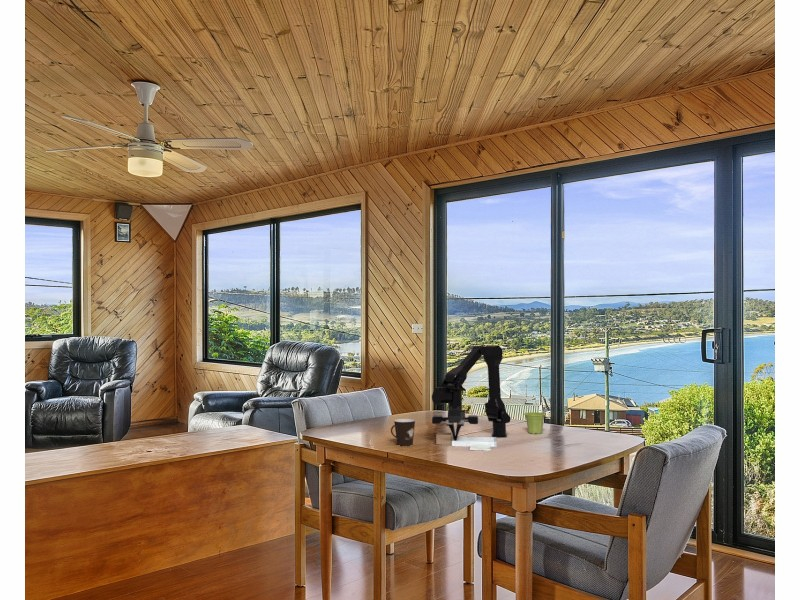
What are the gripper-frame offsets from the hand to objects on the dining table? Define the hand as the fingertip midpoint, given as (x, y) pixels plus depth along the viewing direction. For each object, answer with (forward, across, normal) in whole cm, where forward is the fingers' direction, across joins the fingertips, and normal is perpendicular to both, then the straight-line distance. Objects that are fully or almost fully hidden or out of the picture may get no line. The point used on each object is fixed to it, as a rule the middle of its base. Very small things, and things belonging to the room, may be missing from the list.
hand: (455, 440), depth 254 cm
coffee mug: (+2, -22, -5) cm, 22 cm away
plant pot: (+1, +34, +28) cm, 44 cm away
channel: (+1, +7, 0) cm, 7 cm away
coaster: (+1, +10, -9) cm, 14 cm away
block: (+1, -5, 0) cm, 5 cm away
